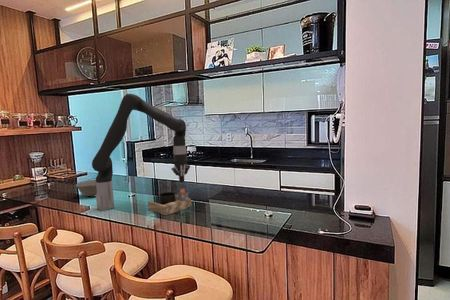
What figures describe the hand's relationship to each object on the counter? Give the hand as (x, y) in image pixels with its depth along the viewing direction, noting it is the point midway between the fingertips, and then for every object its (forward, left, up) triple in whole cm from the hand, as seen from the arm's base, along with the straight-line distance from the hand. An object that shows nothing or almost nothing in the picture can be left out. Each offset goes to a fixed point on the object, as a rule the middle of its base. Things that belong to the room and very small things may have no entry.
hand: (181, 182), depth 173 cm
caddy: (-5, +7, -16) cm, 18 cm away
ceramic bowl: (-18, +82, -16) cm, 85 cm away
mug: (-5, +7, -16) cm, 18 cm away
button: (0, 0, -8) cm, 8 cm away
